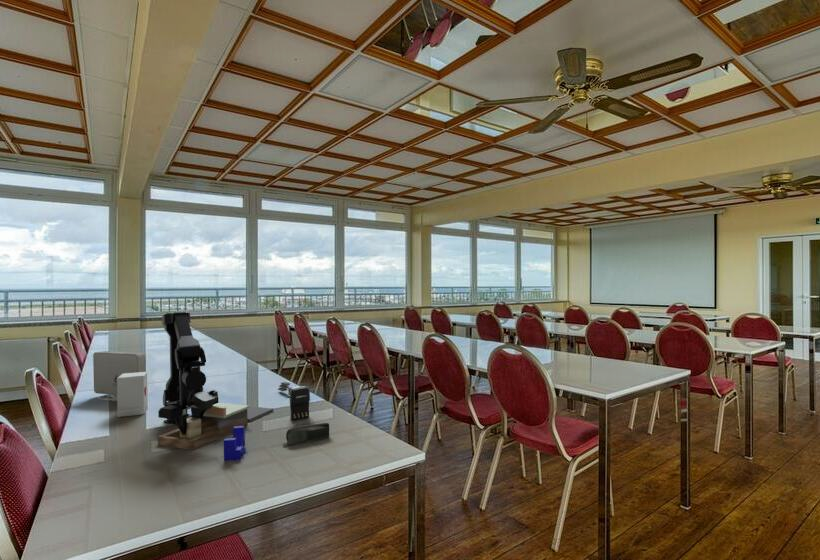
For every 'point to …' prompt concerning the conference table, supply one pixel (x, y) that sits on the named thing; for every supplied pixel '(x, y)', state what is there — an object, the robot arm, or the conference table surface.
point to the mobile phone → (307, 433)
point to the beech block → (192, 428)
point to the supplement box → (132, 394)
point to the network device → (114, 370)
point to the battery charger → (299, 403)
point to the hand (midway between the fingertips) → (190, 432)
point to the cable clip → (235, 444)
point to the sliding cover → (224, 410)
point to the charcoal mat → (256, 412)
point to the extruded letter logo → (285, 387)
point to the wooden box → (205, 431)
